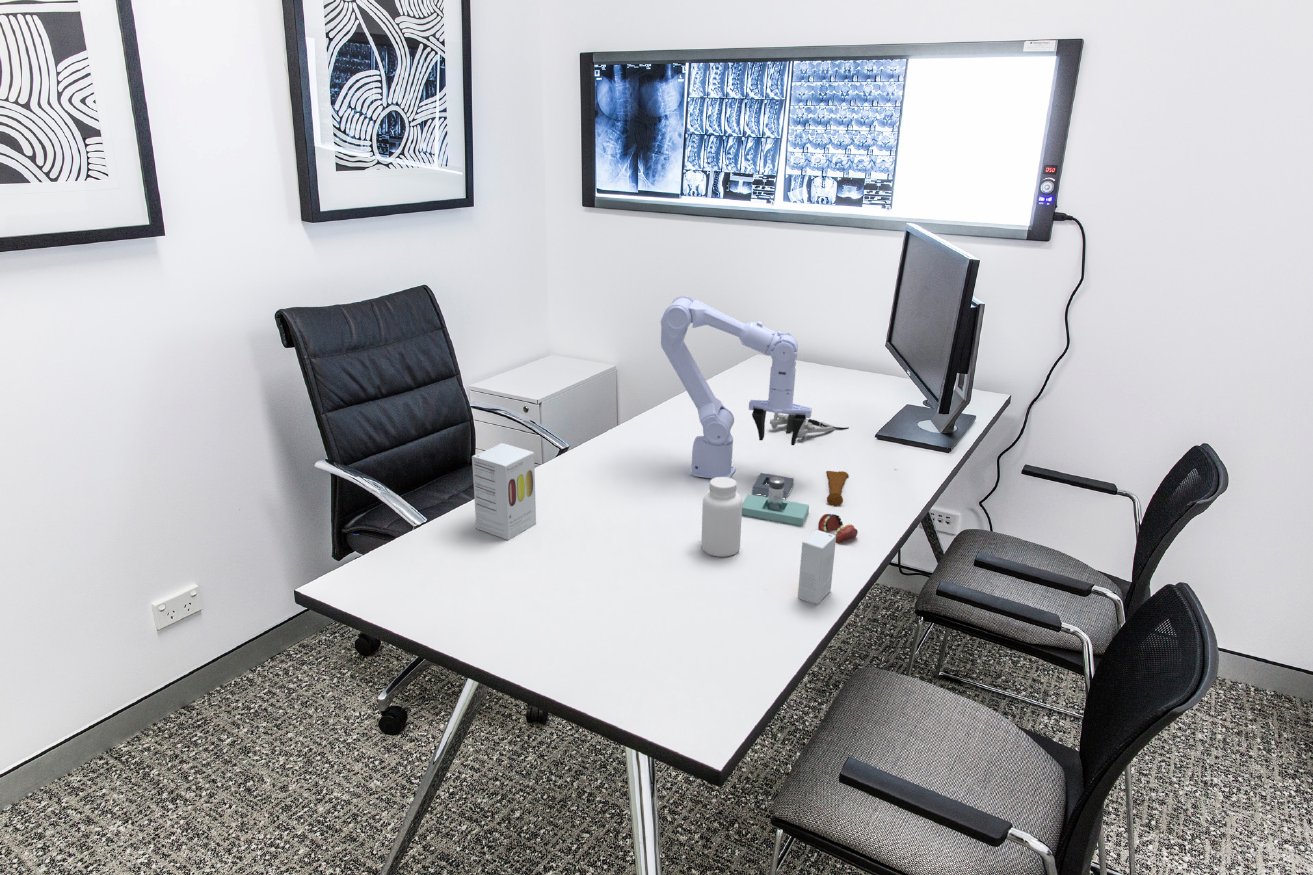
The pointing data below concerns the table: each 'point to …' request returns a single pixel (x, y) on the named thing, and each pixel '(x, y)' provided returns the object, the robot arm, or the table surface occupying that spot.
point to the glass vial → (775, 494)
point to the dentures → (837, 527)
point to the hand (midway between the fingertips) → (777, 441)
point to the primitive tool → (836, 486)
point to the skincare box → (816, 566)
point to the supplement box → (504, 490)
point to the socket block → (763, 489)
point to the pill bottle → (721, 518)
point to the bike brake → (805, 427)
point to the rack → (789, 515)
